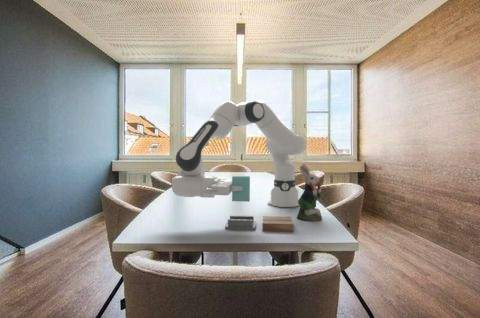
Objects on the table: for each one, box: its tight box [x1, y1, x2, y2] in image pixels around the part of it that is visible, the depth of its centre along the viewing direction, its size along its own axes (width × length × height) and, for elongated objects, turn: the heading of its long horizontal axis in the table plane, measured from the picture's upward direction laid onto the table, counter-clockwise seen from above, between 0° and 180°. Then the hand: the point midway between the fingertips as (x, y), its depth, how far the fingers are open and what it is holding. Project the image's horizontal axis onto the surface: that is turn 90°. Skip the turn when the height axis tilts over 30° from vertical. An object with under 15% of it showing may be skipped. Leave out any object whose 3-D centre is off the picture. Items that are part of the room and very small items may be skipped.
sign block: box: [231, 175, 251, 203], centre depth 130 cm, size 3×7×10 cm, turn 84°
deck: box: [261, 215, 294, 233], centre depth 129 cm, size 12×12×3 cm
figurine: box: [296, 163, 323, 222], centre depth 143 cm, size 11×13×25 cm
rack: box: [224, 214, 257, 231], centre depth 130 cm, size 10×12×4 cm
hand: (243, 187), depth 129 cm, fingers closed on sign block, 3 cm apart
